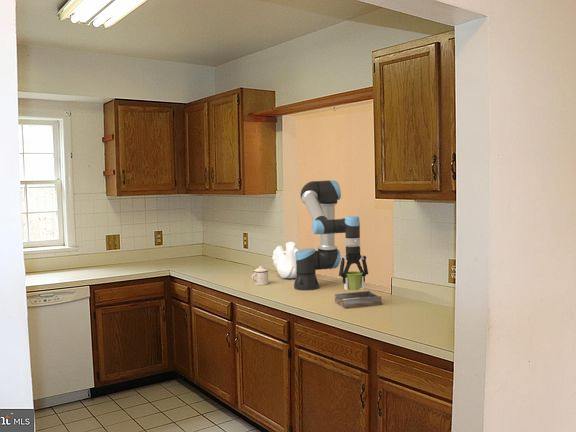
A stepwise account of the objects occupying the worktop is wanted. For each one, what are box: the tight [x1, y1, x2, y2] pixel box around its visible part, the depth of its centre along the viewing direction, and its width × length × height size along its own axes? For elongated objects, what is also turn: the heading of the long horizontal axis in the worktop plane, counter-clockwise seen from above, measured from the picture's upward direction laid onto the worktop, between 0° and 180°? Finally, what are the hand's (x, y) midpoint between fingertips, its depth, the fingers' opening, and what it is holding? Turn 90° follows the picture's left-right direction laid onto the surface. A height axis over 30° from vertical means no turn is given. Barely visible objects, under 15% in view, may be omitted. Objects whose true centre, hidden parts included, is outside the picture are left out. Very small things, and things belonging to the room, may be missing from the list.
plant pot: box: [346, 270, 363, 291], centre depth 282 cm, size 9×9×9 cm
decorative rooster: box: [271, 241, 299, 279], centre depth 362 cm, size 25×16×25 cm, turn 32°
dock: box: [334, 290, 382, 310], centre depth 283 cm, size 14×20×4 cm
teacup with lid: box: [251, 265, 269, 286], centre depth 342 cm, size 12×9×12 cm
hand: (354, 288), depth 282 cm, fingers closed on plant pot, 8 cm apart
